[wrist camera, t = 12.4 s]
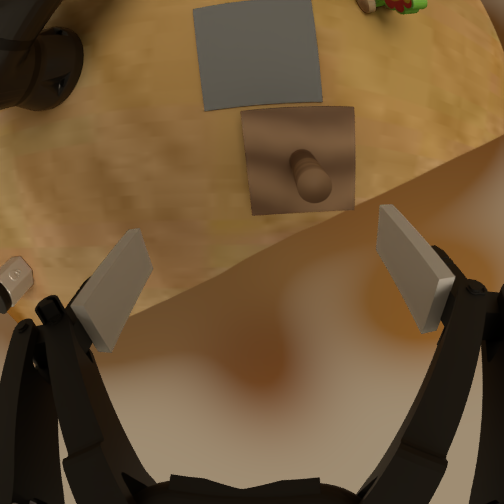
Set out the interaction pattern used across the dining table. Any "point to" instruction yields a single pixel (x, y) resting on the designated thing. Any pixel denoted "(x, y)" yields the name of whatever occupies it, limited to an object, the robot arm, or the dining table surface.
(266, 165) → the lid
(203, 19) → the mat
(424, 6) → the toy lion
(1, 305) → the jar
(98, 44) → the dining table surface
